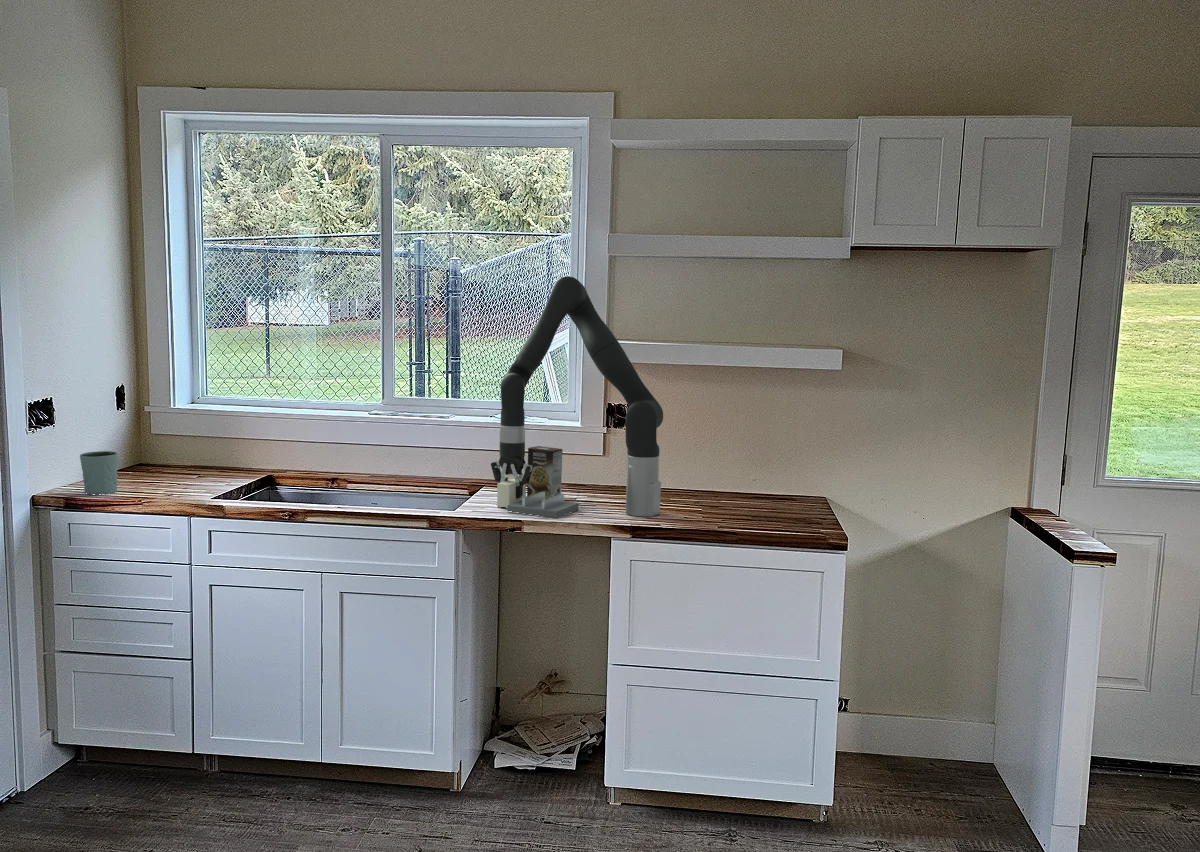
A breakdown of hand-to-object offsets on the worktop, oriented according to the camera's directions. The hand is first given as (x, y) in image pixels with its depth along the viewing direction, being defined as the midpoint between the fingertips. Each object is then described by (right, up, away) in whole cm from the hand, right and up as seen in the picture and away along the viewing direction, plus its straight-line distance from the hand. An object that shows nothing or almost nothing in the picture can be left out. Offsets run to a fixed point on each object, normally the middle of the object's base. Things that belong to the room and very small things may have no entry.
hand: (511, 497), depth 287 cm
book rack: (+10, -4, -7) cm, 12 cm away
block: (0, -2, 0) cm, 2 cm away
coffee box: (+9, -2, +10) cm, 14 cm away
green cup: (-124, +1, +3) cm, 124 cm away
